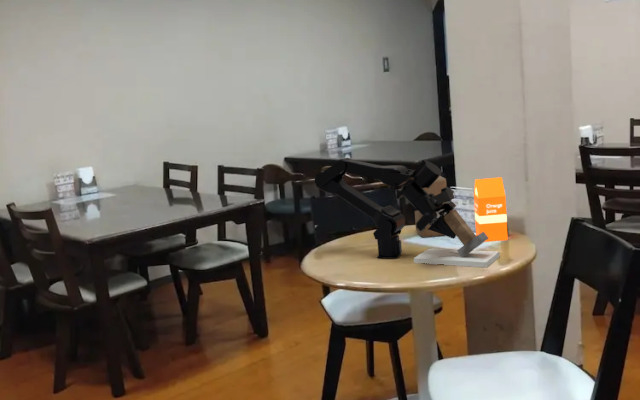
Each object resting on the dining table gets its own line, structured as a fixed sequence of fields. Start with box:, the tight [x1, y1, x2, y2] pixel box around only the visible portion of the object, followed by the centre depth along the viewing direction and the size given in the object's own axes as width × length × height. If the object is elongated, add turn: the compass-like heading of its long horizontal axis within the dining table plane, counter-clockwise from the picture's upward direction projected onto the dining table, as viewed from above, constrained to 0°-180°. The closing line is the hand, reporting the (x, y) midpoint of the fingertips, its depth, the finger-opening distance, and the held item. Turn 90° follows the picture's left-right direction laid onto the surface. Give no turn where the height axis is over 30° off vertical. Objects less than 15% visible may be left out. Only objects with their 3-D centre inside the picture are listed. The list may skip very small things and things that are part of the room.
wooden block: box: [414, 175, 448, 238], centre depth 233 cm, size 10×10×20 cm
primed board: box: [413, 247, 500, 268], centre depth 198 cm, size 22×12×2 cm, turn 58°
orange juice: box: [473, 176, 509, 243], centre depth 218 cm, size 8×9×20 cm
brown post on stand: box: [444, 208, 489, 258], centre depth 195 cm, size 8×5×12 cm
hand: (456, 236), depth 196 cm, fingers closed on brown post on stand, 3 cm apart
